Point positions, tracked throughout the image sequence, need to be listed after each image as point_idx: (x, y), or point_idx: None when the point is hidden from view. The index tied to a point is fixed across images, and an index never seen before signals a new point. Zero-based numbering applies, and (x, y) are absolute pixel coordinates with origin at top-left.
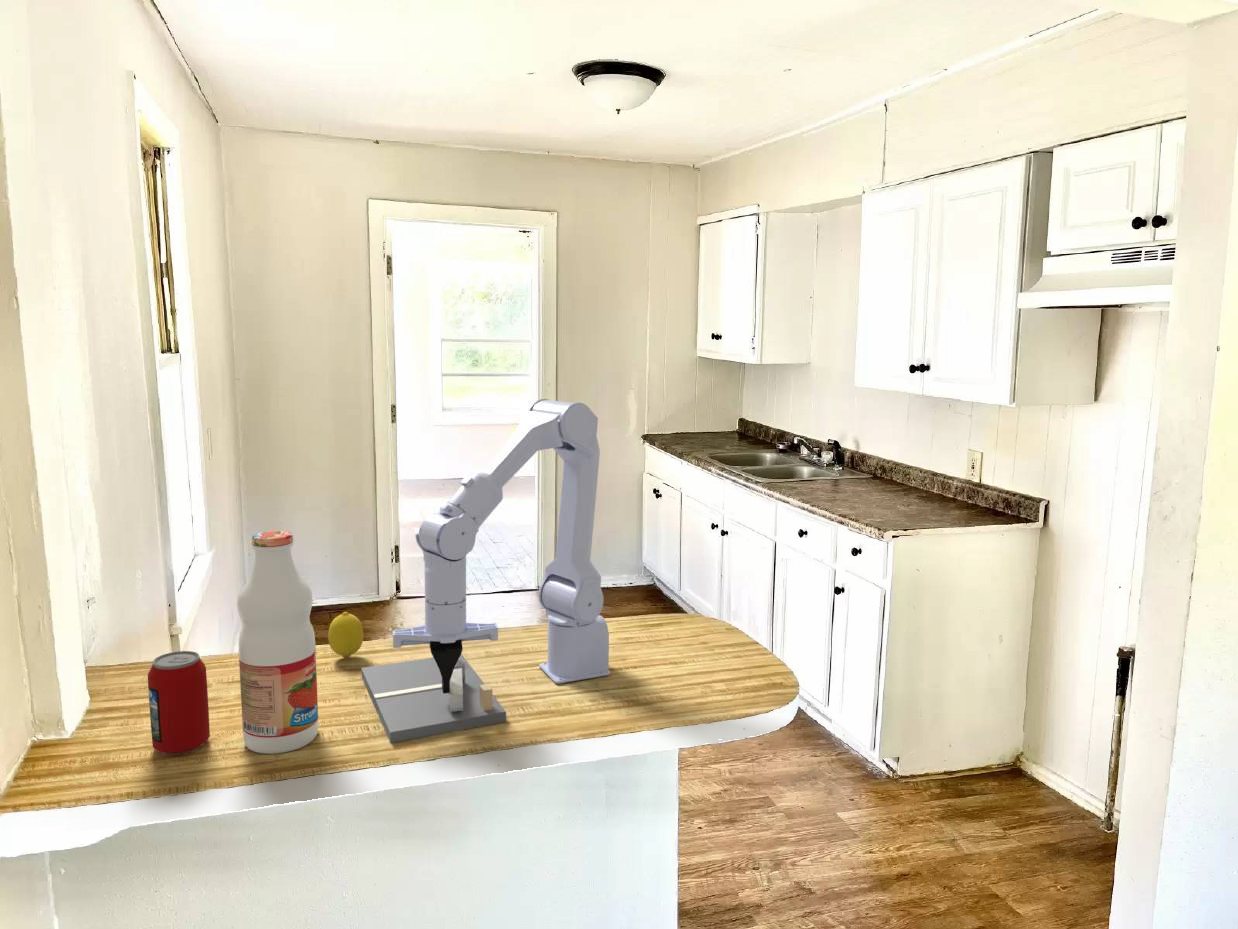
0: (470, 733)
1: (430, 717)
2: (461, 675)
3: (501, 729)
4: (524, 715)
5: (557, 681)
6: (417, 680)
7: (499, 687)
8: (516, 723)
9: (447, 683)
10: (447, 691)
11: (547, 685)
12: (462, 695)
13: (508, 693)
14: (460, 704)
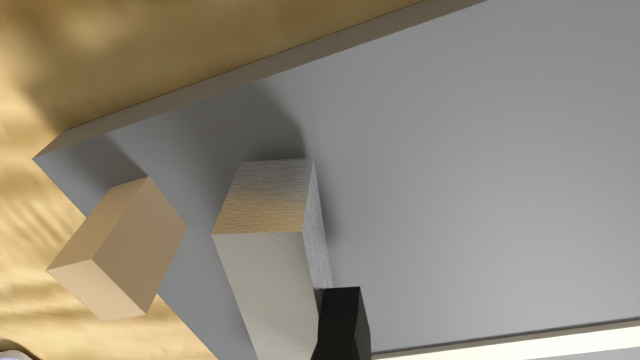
0: (196, 21)
1: (425, 127)
2: None
3: (51, 57)
4: (15, 180)
5: (9, 356)
6: None
7: (192, 352)
8: (10, 113)
9: (330, 337)
10: (335, 296)
11: (47, 347)
12: (217, 226)
13: (150, 321)
14: (245, 184)
